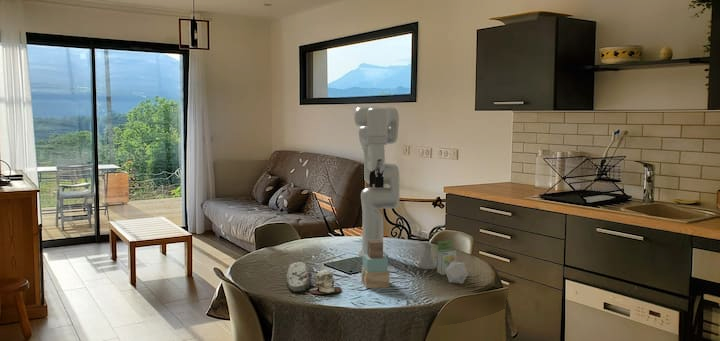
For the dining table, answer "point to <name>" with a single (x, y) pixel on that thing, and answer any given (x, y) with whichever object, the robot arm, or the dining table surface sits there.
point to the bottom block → (375, 279)
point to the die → (456, 272)
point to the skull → (325, 283)
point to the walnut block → (375, 248)
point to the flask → (427, 258)
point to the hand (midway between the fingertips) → (376, 185)
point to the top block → (375, 264)
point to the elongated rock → (298, 276)
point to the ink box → (445, 256)
